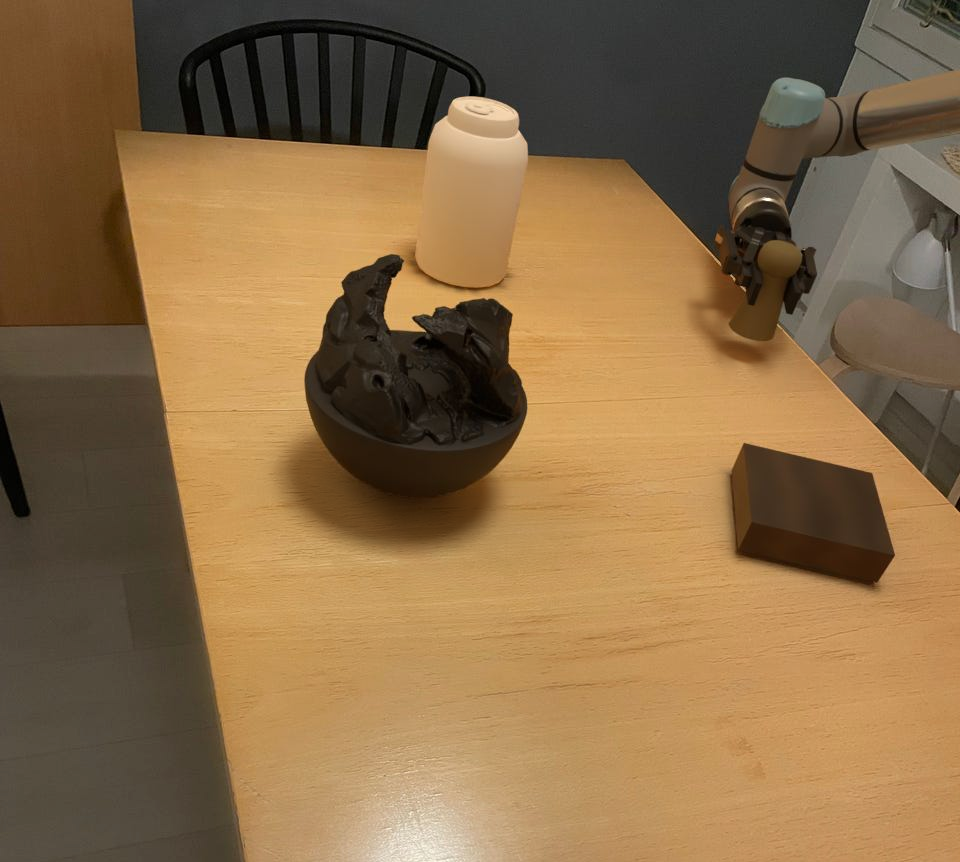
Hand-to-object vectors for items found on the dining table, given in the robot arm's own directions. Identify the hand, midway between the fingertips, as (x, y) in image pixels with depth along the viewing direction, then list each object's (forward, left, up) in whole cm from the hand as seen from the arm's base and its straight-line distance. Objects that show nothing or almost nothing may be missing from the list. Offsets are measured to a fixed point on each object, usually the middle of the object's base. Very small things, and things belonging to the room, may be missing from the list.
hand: (774, 298), depth 109 cm
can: (+39, -10, -10) cm, 42 cm away
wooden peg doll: (0, -5, -7) cm, 9 cm away
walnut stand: (-4, +32, -10) cm, 33 cm away
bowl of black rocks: (+36, +39, -10) cm, 54 cm away
